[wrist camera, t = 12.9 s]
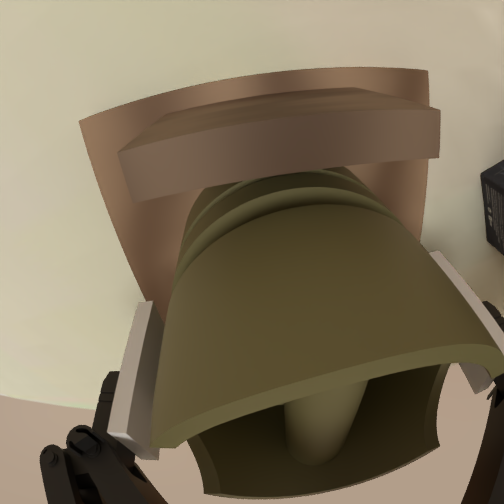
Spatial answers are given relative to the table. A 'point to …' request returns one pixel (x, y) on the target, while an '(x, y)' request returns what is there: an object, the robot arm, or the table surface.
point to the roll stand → (256, 150)
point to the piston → (306, 338)
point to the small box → (494, 204)
